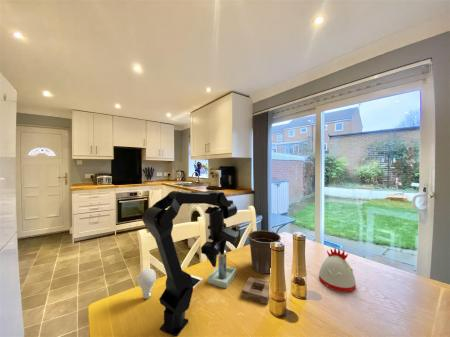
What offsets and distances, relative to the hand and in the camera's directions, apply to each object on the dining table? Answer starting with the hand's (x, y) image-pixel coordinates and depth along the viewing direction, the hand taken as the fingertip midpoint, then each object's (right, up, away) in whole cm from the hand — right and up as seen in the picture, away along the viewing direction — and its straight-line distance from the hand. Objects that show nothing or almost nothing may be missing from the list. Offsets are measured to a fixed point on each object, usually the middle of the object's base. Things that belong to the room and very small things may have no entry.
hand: (218, 260), depth 77 cm
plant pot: (+22, -13, +20) cm, 32 cm away
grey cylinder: (+1, -12, +10) cm, 16 cm away
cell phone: (-14, -14, +4) cm, 20 cm away
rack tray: (+2, -13, +10) cm, 17 cm away
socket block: (+16, -13, +1) cm, 21 cm away
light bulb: (-27, -13, -3) cm, 31 cm away
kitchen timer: (+52, -14, +8) cm, 55 cm away
